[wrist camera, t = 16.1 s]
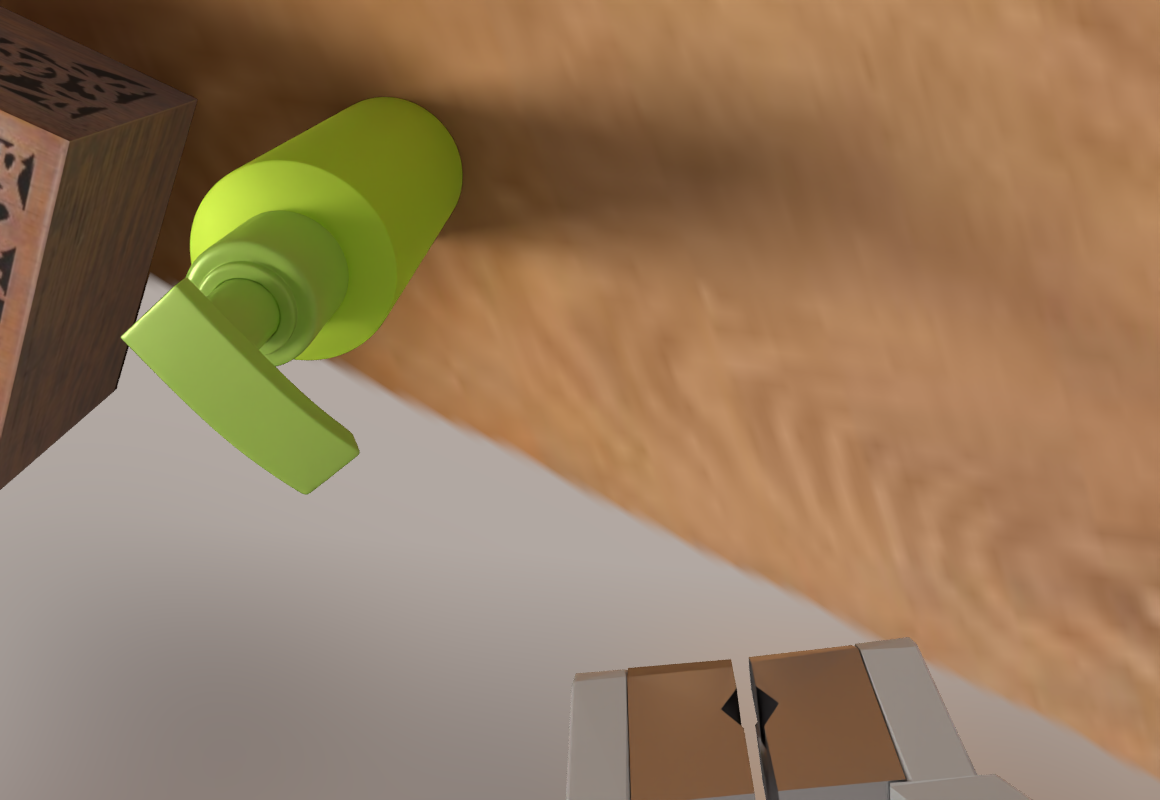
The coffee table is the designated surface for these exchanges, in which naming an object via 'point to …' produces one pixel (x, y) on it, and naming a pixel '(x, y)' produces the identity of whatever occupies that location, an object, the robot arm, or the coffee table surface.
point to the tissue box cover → (73, 225)
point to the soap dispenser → (300, 277)
